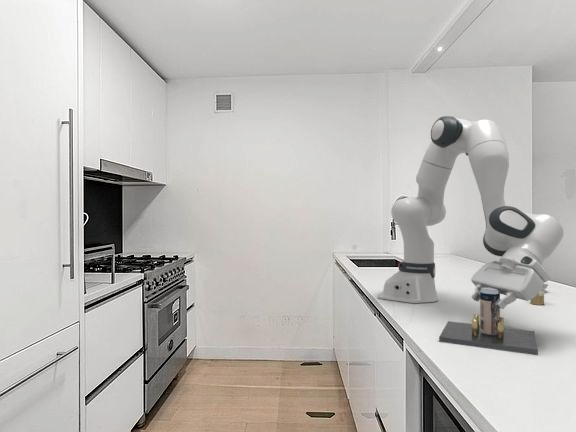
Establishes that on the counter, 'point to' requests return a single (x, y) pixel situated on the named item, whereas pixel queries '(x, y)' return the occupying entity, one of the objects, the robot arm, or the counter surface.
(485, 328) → the beer can
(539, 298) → the sprinkles bottle
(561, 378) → the counter surface
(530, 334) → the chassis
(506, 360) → the counter surface
